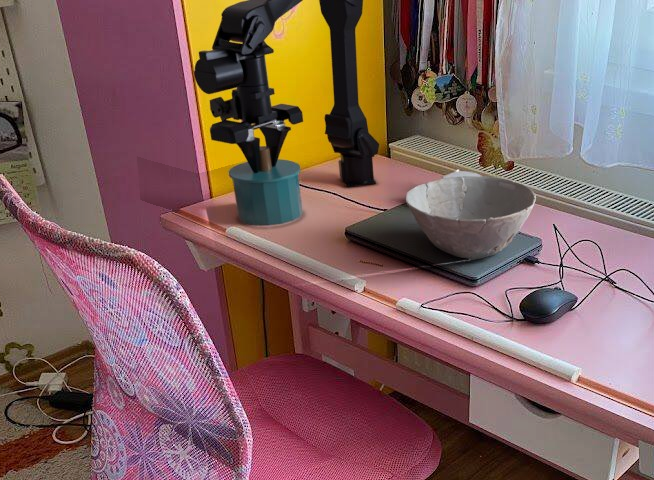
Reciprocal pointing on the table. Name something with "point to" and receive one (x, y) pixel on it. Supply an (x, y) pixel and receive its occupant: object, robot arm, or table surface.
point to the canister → (268, 201)
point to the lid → (265, 169)
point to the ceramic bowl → (471, 213)
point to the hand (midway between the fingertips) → (264, 169)
